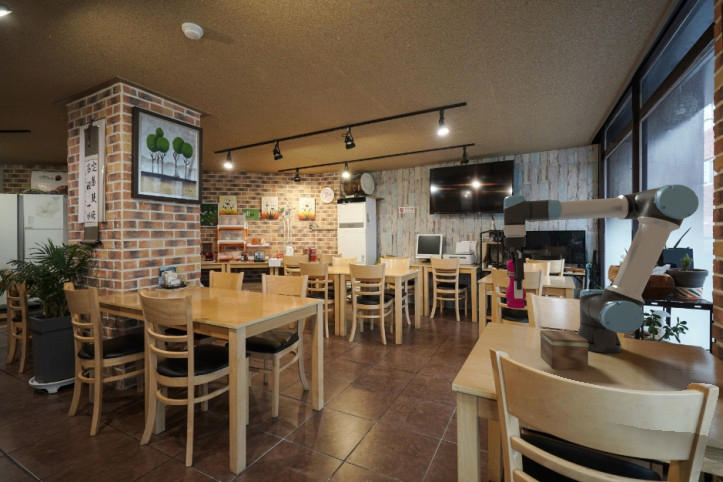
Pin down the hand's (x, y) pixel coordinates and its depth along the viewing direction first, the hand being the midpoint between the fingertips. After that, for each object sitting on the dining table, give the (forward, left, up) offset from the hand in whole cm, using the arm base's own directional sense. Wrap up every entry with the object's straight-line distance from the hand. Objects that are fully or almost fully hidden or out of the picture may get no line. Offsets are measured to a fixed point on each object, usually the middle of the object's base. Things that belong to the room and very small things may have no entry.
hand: (515, 296), depth 127 cm
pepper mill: (0, 0, -4) cm, 4 cm away
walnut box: (-13, +9, -22) cm, 27 cm away
